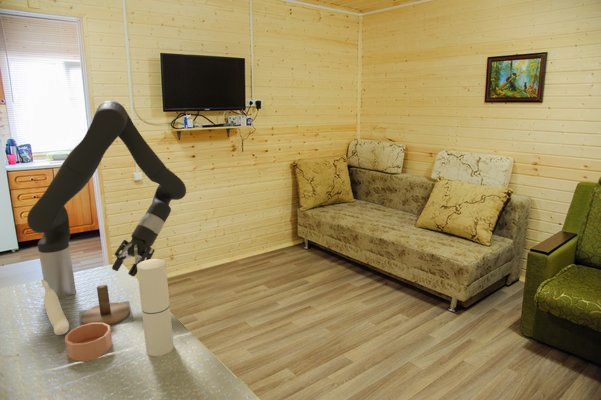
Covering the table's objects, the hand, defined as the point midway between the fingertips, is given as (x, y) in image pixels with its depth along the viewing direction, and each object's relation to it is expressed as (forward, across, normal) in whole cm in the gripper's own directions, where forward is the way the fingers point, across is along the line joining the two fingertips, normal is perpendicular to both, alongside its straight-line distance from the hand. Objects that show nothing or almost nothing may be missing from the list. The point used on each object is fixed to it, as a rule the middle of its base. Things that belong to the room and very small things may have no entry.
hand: (122, 272), depth 135 cm
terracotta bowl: (+23, +12, -6) cm, 27 cm away
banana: (+23, -5, -5) cm, 24 cm away
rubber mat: (+14, 0, +4) cm, 14 cm away
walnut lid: (+14, 0, +3) cm, 14 cm away
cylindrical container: (+16, +28, +2) cm, 33 cm away
